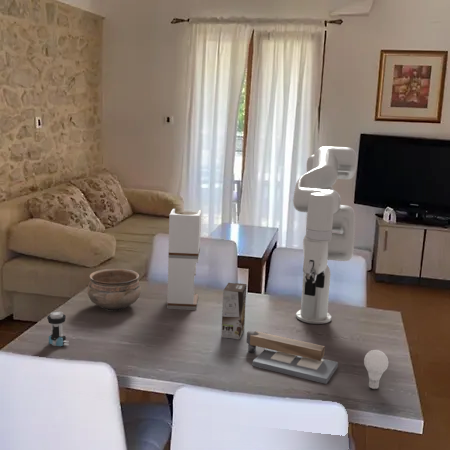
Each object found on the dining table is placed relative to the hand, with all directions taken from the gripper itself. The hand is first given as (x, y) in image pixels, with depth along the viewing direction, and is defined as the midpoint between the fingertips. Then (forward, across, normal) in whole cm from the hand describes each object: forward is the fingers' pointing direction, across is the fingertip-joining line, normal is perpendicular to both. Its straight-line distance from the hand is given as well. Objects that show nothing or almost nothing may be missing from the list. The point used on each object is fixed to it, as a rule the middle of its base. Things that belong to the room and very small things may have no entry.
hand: (314, 290), depth 173 cm
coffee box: (+20, -2, -27) cm, 34 cm away
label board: (+20, +11, -1) cm, 23 cm away
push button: (+20, +34, -69) cm, 80 cm away
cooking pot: (+20, -1, -74) cm, 77 cm away
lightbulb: (+20, +13, +22) cm, 33 cm away
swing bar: (+17, +8, -6) cm, 20 cm away
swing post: (+20, +8, -16) cm, 27 cm away
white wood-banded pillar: (+20, -18, -55) cm, 61 cm away
